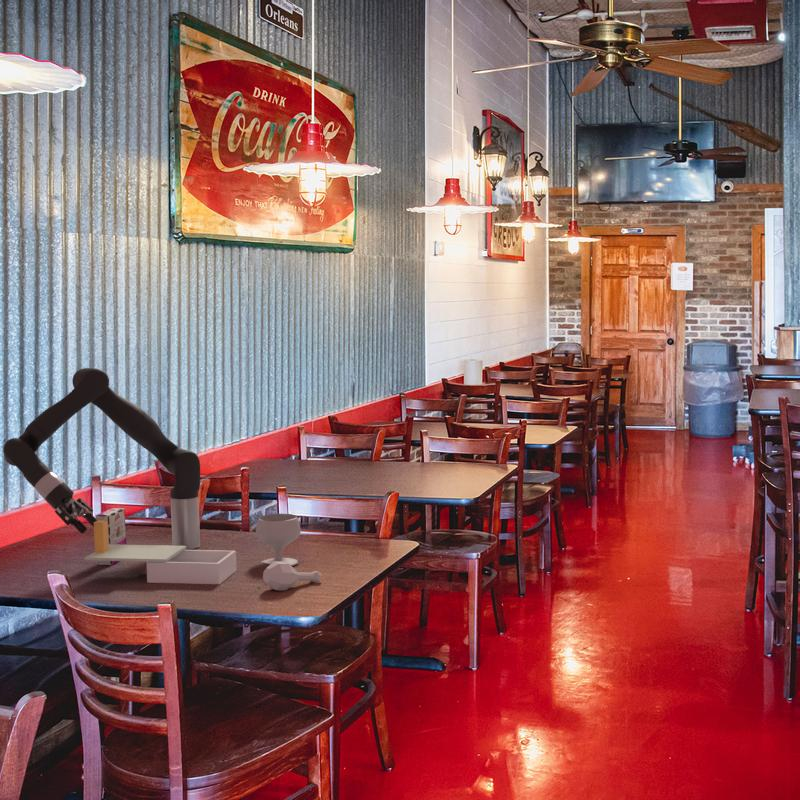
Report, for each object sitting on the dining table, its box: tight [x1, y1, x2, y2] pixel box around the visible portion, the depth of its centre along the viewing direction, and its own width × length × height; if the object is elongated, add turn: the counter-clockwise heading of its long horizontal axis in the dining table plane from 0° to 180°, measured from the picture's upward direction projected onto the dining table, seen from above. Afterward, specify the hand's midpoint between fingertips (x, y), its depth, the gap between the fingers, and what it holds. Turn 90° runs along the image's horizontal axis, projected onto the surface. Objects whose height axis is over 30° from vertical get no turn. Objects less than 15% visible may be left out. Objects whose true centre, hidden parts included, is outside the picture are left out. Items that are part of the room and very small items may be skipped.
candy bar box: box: [94, 507, 127, 566], centre depth 332 cm, size 11×5×16 cm, turn 168°
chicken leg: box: [262, 561, 323, 591], centre depth 299 cm, size 8×18×8 cm, turn 128°
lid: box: [84, 520, 186, 562], centre depth 310 cm, size 17×25×10 cm
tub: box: [146, 549, 238, 585], centre depth 308 cm, size 16×22×7 cm
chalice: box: [255, 513, 302, 567], centre depth 324 cm, size 14×14×15 cm
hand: (91, 528), depth 312 cm, fingers open, 8 cm apart
